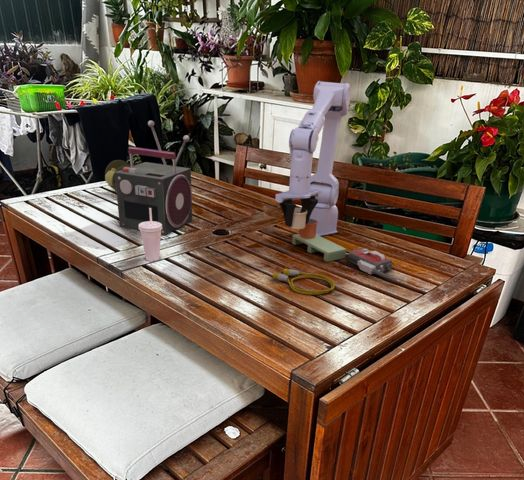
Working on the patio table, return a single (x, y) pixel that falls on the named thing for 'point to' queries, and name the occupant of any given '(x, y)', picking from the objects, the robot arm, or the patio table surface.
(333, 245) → the sage green baseplate
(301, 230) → the terracotta pot
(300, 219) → the cream pot
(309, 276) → the extension cord
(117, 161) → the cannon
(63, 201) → the patio table surface
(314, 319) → the patio table surface
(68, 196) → the patio table surface
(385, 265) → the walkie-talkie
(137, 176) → the boombox
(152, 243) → the smoothie
